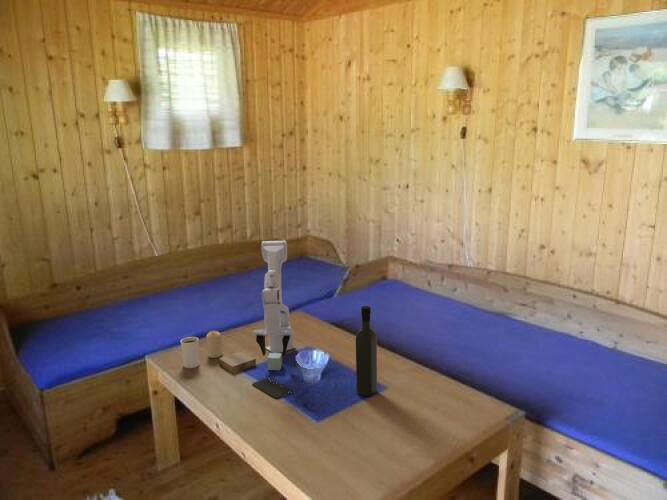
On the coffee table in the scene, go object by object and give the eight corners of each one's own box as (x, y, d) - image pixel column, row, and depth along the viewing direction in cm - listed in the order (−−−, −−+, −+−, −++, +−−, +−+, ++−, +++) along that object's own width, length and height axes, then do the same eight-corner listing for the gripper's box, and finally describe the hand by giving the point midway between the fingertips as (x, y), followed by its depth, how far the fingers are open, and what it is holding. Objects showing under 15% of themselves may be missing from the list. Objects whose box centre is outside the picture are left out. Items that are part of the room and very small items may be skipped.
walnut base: (242, 358, 214) (241, 351, 213) (256, 366, 207) (255, 358, 206) (219, 365, 208) (218, 358, 207) (232, 374, 200) (232, 366, 200)
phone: (268, 377, 195) (293, 390, 184) (268, 379, 196) (294, 393, 185) (250, 383, 191) (276, 398, 180) (250, 385, 191) (276, 400, 180)
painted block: (270, 365, 206) (269, 353, 205) (282, 365, 206) (281, 353, 205) (267, 370, 202) (267, 358, 201) (279, 370, 201) (279, 358, 200)
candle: (220, 358, 214) (218, 333, 211) (206, 358, 214) (204, 334, 212) (223, 352, 219) (221, 328, 217) (209, 352, 219) (208, 328, 217)
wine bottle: (363, 387, 187) (362, 303, 180) (378, 390, 184) (377, 305, 178) (355, 394, 182) (353, 308, 176) (370, 398, 179) (369, 311, 173)
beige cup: (203, 362, 210) (201, 337, 208) (195, 369, 204) (192, 344, 202) (188, 360, 212) (186, 336, 210) (179, 367, 206) (176, 342, 204)
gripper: (250, 323, 196) (252, 358, 199) (290, 323, 195) (292, 359, 198) (255, 316, 203) (257, 351, 206) (293, 317, 202) (295, 351, 205)
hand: (274, 354), depth 202 cm, fingers open, 7 cm apart
